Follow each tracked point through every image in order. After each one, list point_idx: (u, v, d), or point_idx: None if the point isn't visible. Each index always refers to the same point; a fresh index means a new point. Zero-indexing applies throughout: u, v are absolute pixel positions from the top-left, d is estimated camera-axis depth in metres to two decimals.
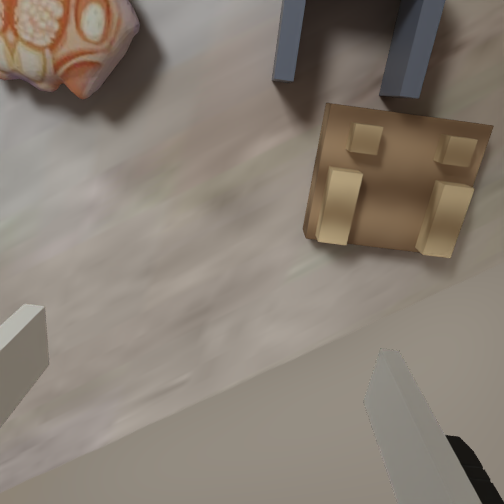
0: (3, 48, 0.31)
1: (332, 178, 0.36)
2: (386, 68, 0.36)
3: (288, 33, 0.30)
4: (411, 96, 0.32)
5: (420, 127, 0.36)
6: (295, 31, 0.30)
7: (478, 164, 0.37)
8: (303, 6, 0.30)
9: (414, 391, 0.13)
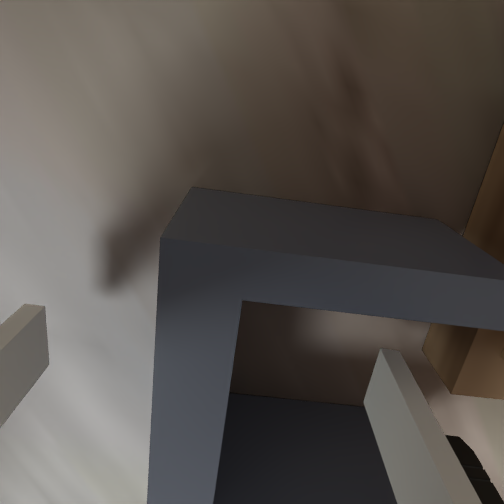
0: None
1: None
2: None
3: None
4: None
5: None
6: None
7: None
8: None
9: (414, 391, 0.13)
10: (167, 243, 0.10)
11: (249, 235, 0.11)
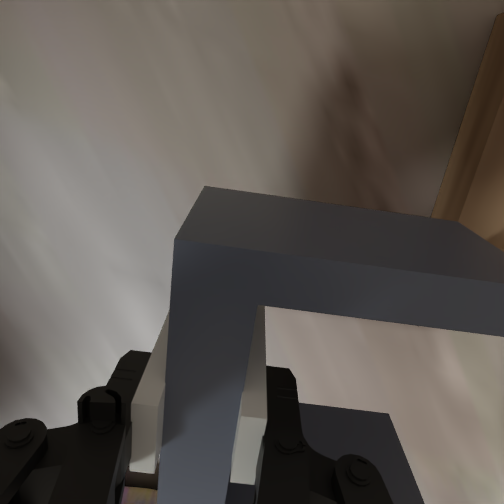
0: None
1: None
2: None
3: None
4: None
5: (499, 165, 0.18)
6: None
7: None
8: None
9: (258, 332, 0.15)
10: (181, 245, 0.10)
11: (265, 237, 0.11)
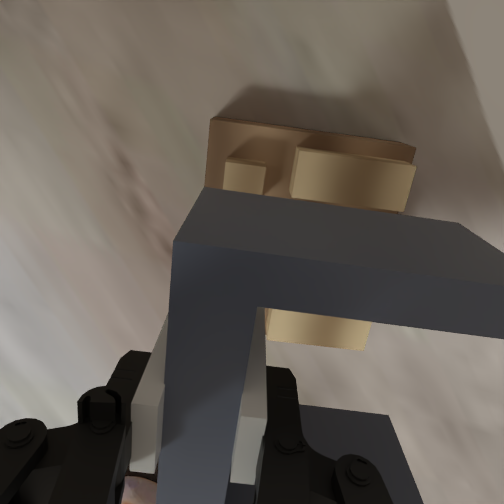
0: None
1: (277, 339, 0.28)
2: None
3: None
4: None
5: None
6: None
7: (267, 129, 0.24)
8: None
9: (258, 332, 0.15)
10: (180, 247, 0.10)
11: (265, 239, 0.11)
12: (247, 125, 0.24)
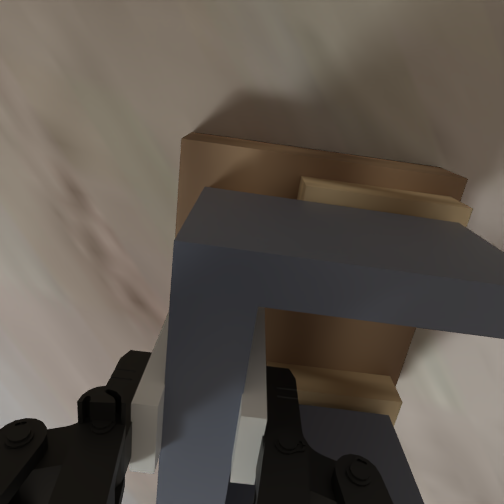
0: None
1: None
2: None
3: None
4: None
5: None
6: None
7: (260, 153, 0.17)
8: None
9: (258, 332, 0.15)
10: (181, 247, 0.10)
11: (266, 238, 0.11)
12: (233, 147, 0.17)
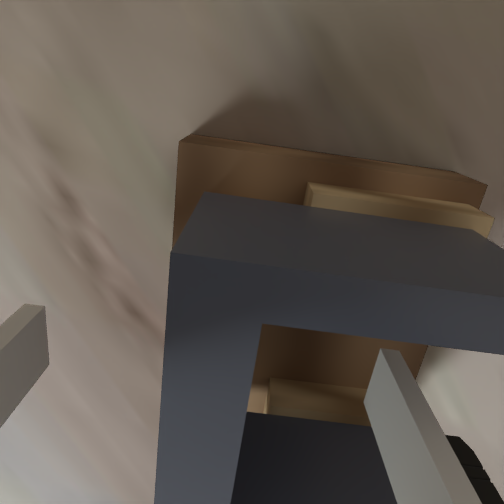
0: None
1: None
2: None
3: None
4: None
5: None
6: None
7: (264, 157, 0.16)
8: None
9: (414, 391, 0.13)
10: (178, 259, 0.09)
11: (270, 249, 0.10)
12: (234, 151, 0.16)
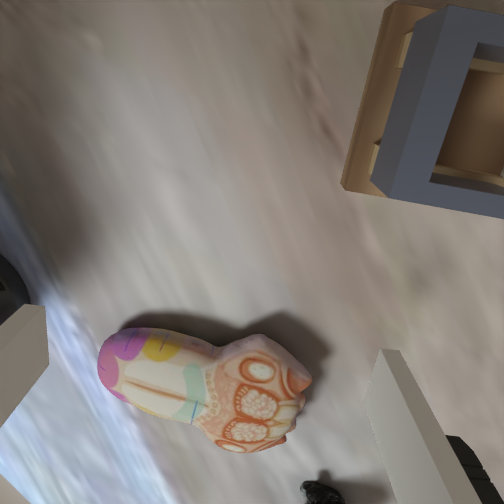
0: (277, 427, 0.44)
1: None
2: None
3: (488, 206, 0.28)
4: None
5: (382, 93, 0.33)
6: (488, 199, 0.28)
7: None
8: (466, 190, 0.27)
9: (414, 391, 0.13)
10: (451, 8, 0.23)
11: None
12: (423, 8, 0.30)
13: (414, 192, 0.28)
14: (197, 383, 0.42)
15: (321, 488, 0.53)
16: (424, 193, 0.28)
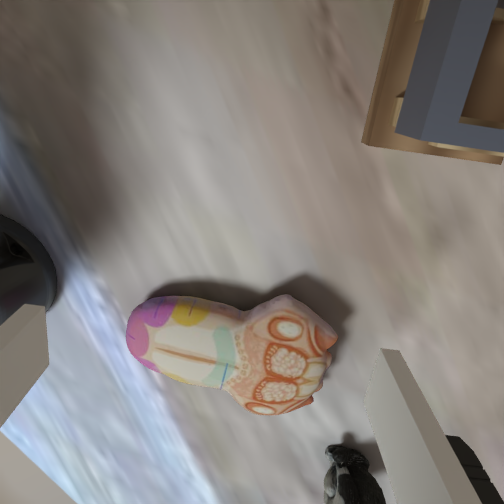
0: (306, 385, 0.45)
1: (445, 146, 0.35)
2: None
3: None
4: None
5: (403, 47, 0.34)
6: None
7: None
8: (494, 129, 0.29)
9: (414, 391, 0.13)
10: None
11: None
12: None
13: (444, 133, 0.29)
14: (226, 345, 0.43)
15: (346, 450, 0.54)
16: (454, 134, 0.29)
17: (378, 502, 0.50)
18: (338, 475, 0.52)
